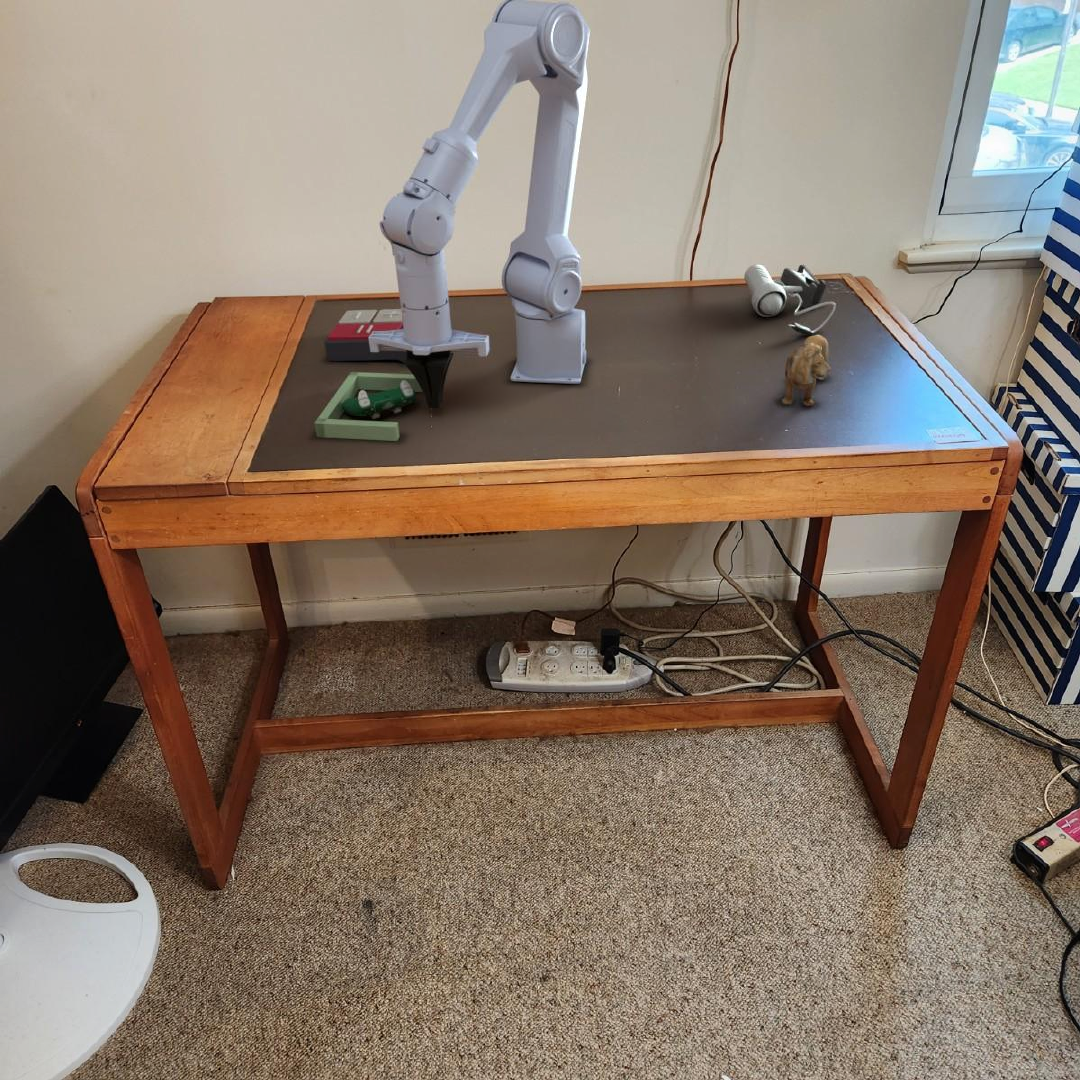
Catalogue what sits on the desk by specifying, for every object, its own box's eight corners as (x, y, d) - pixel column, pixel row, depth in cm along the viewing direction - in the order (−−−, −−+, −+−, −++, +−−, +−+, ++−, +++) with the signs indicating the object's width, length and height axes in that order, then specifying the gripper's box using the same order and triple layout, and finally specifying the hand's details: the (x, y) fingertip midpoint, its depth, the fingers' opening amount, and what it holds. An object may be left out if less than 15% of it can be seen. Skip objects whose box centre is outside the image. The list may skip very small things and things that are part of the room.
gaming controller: (349, 431, 115) (355, 415, 109) (339, 404, 115) (345, 387, 110) (416, 414, 118) (425, 398, 113) (406, 387, 119) (415, 370, 113)
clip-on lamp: (841, 351, 134) (801, 284, 145) (857, 315, 129) (814, 249, 141) (767, 351, 132) (732, 283, 143) (780, 314, 127) (743, 247, 139)
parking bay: (426, 388, 120) (424, 374, 119) (397, 441, 109) (395, 426, 108) (353, 385, 122) (351, 371, 120) (317, 437, 110) (314, 422, 109)
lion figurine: (821, 421, 110) (833, 353, 105) (777, 416, 112) (787, 349, 106) (827, 371, 122) (839, 307, 116) (787, 367, 123) (797, 304, 118)
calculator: (344, 307, 135) (441, 304, 133) (350, 334, 137) (445, 332, 135) (321, 337, 126) (425, 334, 124) (328, 365, 128) (430, 363, 126)
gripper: (354, 312, 103) (371, 416, 111) (478, 316, 101) (485, 422, 109) (373, 290, 109) (387, 391, 117) (489, 293, 107) (496, 396, 115)
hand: (435, 404), depth 113 cm, fingers closed
